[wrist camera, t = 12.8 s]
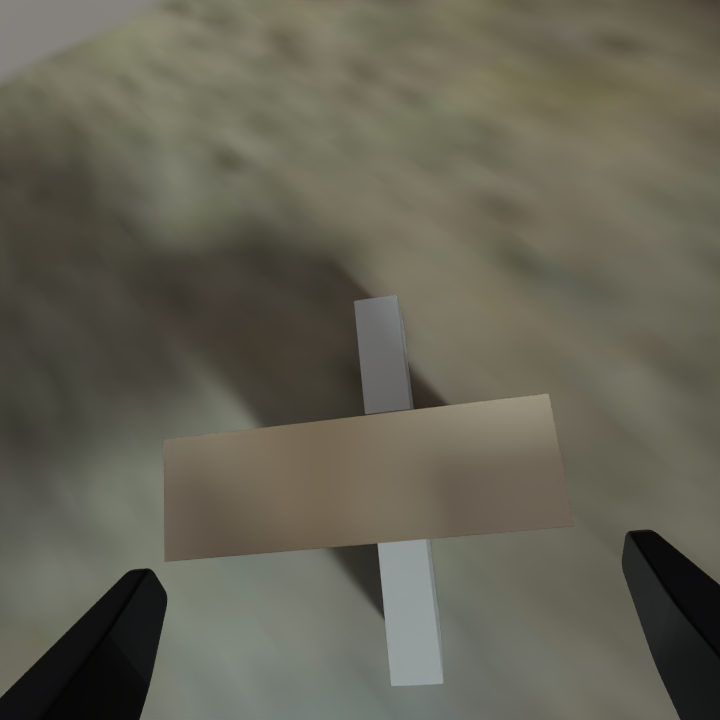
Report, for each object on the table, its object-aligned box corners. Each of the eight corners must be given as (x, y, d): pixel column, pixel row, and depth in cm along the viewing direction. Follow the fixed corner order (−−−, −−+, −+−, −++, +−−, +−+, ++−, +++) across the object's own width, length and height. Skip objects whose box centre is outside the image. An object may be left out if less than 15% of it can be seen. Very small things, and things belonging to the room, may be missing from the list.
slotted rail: (441, 638, 18) (443, 684, 14) (400, 640, 18) (391, 686, 14) (403, 327, 21) (396, 294, 17) (369, 332, 21) (354, 301, 17)
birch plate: (480, 437, 19) (548, 393, 8) (489, 490, 19) (573, 526, 7) (320, 455, 20) (163, 439, 8) (324, 506, 20) (164, 561, 8)
